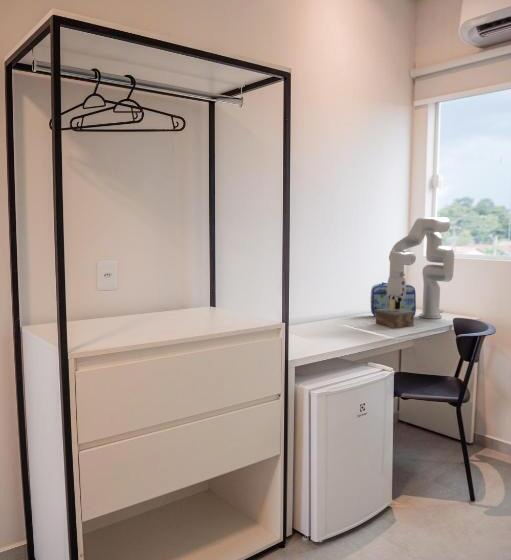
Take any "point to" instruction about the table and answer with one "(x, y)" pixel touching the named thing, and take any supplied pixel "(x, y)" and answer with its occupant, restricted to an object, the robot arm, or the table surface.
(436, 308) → the robot arm
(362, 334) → the table surface
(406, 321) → the walnut box
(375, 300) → the lunch box
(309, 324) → the table surface
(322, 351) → the table surface
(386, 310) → the lid
